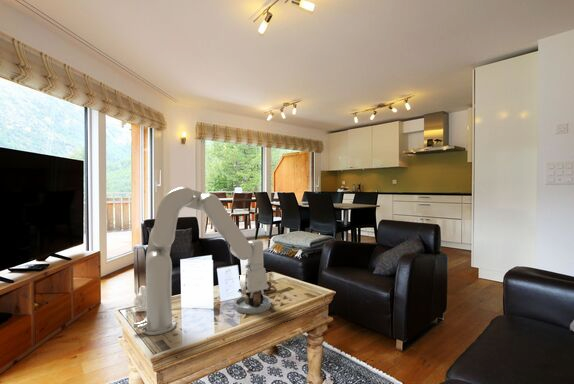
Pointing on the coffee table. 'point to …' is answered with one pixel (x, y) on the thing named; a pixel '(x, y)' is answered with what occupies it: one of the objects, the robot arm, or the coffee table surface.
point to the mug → (242, 281)
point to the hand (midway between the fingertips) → (255, 303)
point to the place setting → (269, 288)
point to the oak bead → (246, 298)
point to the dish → (247, 309)
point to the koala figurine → (141, 299)
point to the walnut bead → (256, 299)
